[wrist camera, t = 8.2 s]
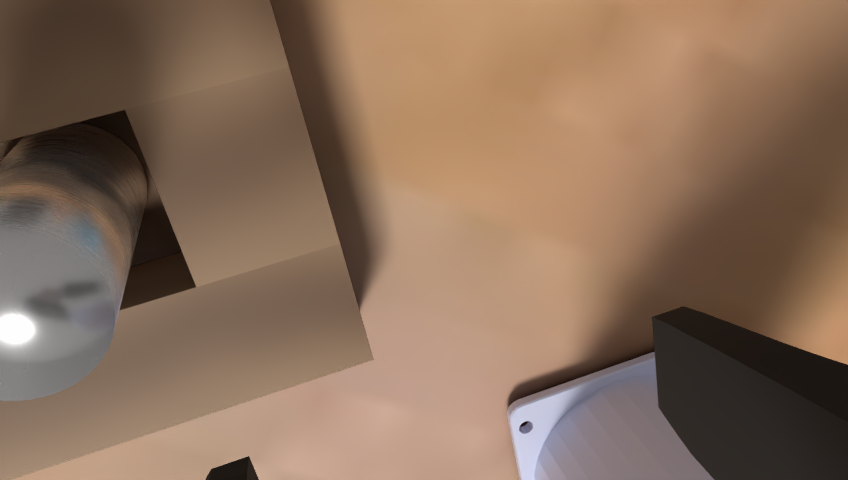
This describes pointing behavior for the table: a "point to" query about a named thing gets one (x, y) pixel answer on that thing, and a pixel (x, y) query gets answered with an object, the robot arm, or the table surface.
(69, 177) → the long pin
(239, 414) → the table surface
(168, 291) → the socket block
